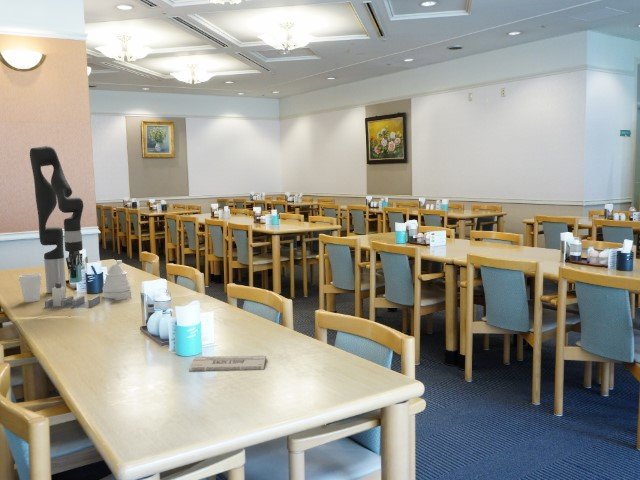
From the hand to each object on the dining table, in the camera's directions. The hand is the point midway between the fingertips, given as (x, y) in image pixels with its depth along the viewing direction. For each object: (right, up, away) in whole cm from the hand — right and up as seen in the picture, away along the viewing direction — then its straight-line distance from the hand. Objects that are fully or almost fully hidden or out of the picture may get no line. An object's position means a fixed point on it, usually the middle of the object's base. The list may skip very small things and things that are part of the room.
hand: (75, 276), depth 268 cm
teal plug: (0, -2, 0) cm, 2 cm away
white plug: (-3, -12, -10) cm, 16 cm away
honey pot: (+16, -11, +10) cm, 22 cm away
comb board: (+3, -13, -10) cm, 17 cm away
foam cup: (-21, -12, +2) cm, 24 cm away
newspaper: (+86, -21, -94) cm, 129 cm away
